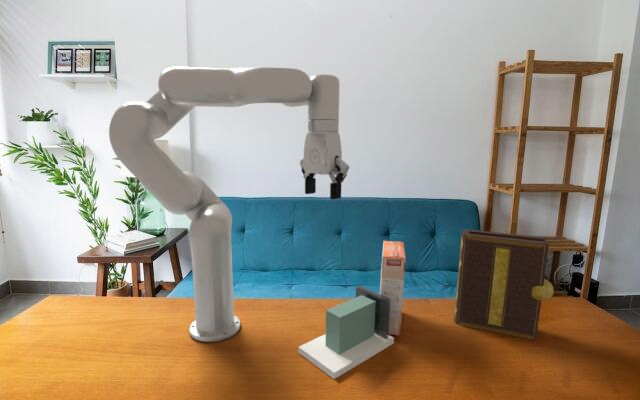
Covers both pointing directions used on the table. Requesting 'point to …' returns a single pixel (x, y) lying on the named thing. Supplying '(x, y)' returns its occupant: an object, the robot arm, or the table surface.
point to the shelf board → (345, 361)
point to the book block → (350, 323)
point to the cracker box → (393, 281)
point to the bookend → (378, 310)
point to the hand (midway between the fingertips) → (322, 196)
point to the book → (502, 282)
